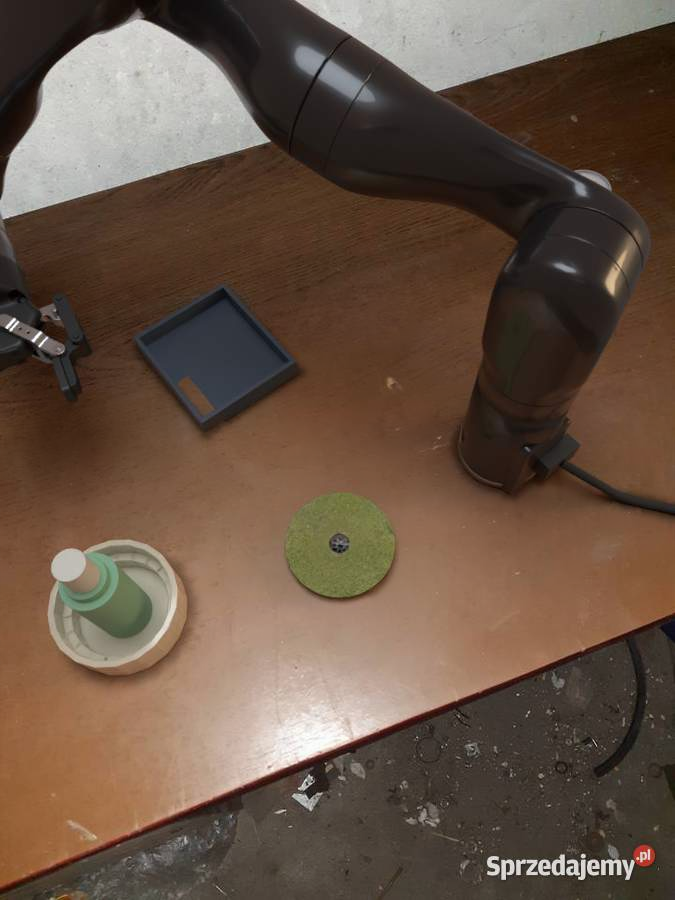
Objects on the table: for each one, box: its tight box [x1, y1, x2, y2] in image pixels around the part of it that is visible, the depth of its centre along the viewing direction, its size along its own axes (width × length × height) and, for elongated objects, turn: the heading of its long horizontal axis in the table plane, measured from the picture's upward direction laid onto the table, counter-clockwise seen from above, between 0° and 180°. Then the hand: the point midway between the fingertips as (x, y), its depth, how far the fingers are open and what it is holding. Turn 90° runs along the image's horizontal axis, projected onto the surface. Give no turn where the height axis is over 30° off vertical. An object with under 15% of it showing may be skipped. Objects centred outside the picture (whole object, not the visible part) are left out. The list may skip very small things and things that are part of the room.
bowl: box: [46, 539, 189, 676], centre depth 68 cm, size 12×12×5 cm
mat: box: [284, 492, 396, 598], centre depth 71 cm, size 11×11×2 cm
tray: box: [132, 282, 299, 433], centre depth 82 cm, size 15×13×2 cm
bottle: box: [50, 547, 152, 638], centre depth 62 cm, size 5×5×16 cm
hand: (21, 416), depth 58 cm, fingers open, 8 cm apart
